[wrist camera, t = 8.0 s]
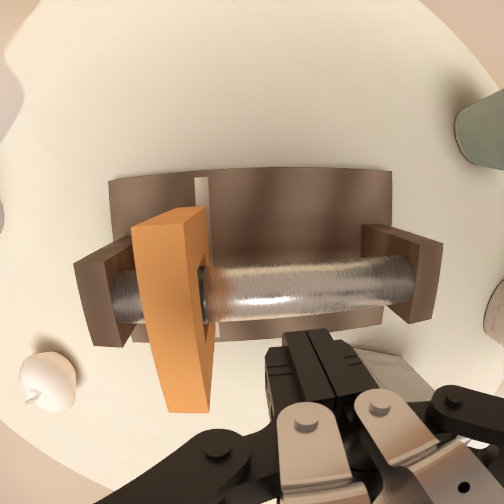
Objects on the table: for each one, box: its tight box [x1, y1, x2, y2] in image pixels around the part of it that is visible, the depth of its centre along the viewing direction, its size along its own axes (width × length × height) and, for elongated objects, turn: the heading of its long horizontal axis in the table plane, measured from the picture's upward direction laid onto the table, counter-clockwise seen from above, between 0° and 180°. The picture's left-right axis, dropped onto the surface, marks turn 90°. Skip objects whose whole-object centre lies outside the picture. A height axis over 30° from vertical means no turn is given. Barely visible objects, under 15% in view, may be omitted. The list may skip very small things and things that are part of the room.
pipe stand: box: [73, 167, 443, 348], centre depth 18 cm, size 23×14×10 cm, turn 92°
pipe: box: [111, 255, 416, 324], centre depth 15 cm, size 21×3×3 cm, turn 92°
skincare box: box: [353, 348, 471, 445], centre depth 20 cm, size 8×6×15 cm
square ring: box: [131, 206, 216, 413], centre depth 15 cm, size 2×9×9 cm, turn 2°
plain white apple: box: [19, 352, 76, 414], centre depth 21 cm, size 7×7×8 cm
